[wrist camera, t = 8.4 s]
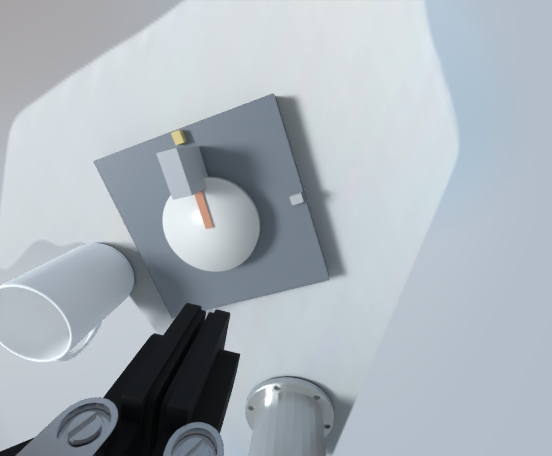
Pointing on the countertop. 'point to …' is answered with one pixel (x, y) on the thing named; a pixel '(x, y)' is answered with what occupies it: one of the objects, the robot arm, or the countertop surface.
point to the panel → (244, 172)
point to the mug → (63, 302)
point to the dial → (206, 213)
